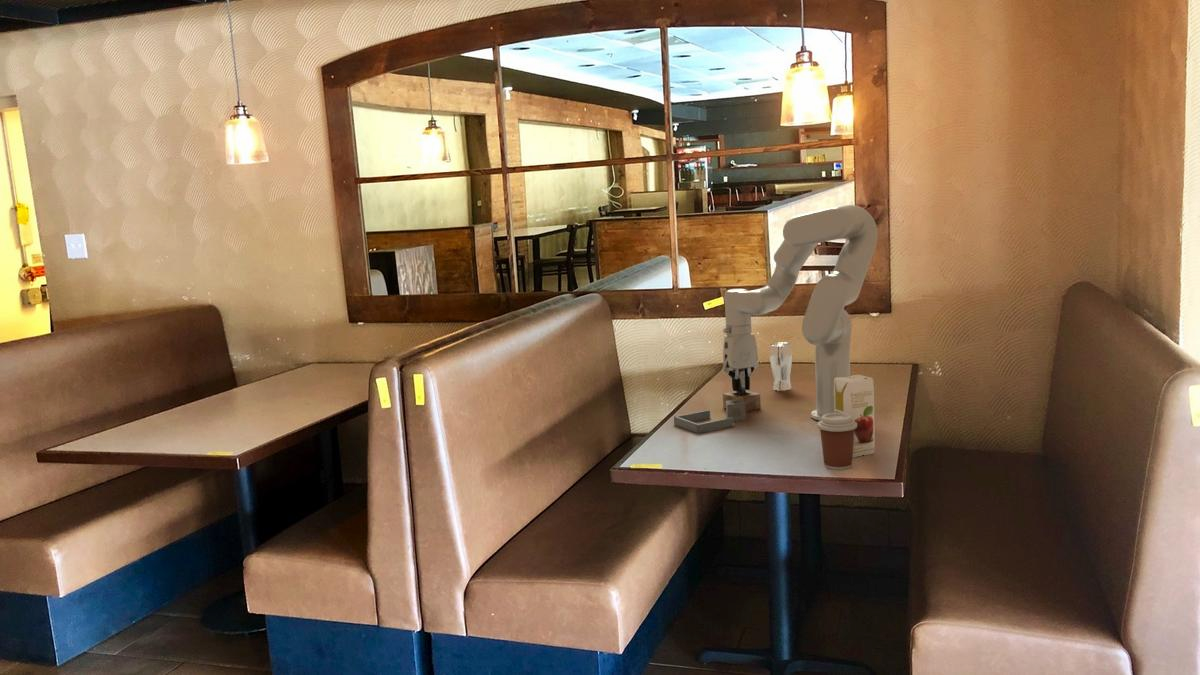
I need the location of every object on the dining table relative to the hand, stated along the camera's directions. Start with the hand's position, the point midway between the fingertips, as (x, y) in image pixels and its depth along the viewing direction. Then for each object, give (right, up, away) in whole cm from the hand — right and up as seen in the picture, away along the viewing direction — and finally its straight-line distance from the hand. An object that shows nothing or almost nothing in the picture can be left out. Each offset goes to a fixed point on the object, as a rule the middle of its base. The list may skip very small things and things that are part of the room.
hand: (741, 389), depth 277 cm
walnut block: (0, -6, +1) cm, 6 cm away
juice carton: (+20, -13, -51) cm, 57 cm away
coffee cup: (+14, -15, -60) cm, 64 cm away
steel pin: (0, -4, +1) cm, 4 cm away
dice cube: (-3, -8, -11) cm, 14 cm away
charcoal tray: (-13, -9, -16) cm, 23 cm away
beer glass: (+17, -1, +23) cm, 28 cm away
